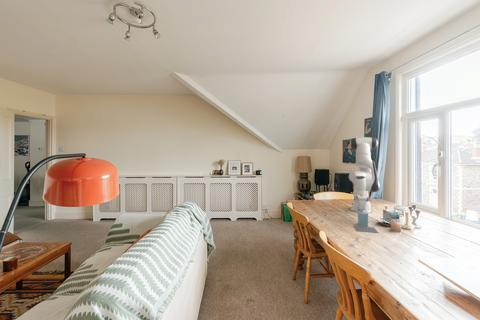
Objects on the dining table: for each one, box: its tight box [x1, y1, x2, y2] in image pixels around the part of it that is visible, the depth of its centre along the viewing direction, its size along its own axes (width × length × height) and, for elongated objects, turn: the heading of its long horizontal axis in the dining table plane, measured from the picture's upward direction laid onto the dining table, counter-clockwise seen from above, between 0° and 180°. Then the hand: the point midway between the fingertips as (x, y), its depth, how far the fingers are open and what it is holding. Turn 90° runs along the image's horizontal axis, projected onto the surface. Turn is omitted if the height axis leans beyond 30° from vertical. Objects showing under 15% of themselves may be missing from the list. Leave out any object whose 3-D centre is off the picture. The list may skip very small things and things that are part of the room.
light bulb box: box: [382, 208, 401, 224], centre depth 171 cm, size 11×7×11 cm, turn 179°
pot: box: [390, 221, 402, 233], centre depth 157 cm, size 6×6×6 cm
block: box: [357, 212, 369, 227], centre depth 168 cm, size 5×6×10 cm
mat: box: [353, 225, 379, 234], centre depth 160 cm, size 11×14×1 cm
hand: (359, 212), depth 178 cm, fingers open, 8 cm apart
